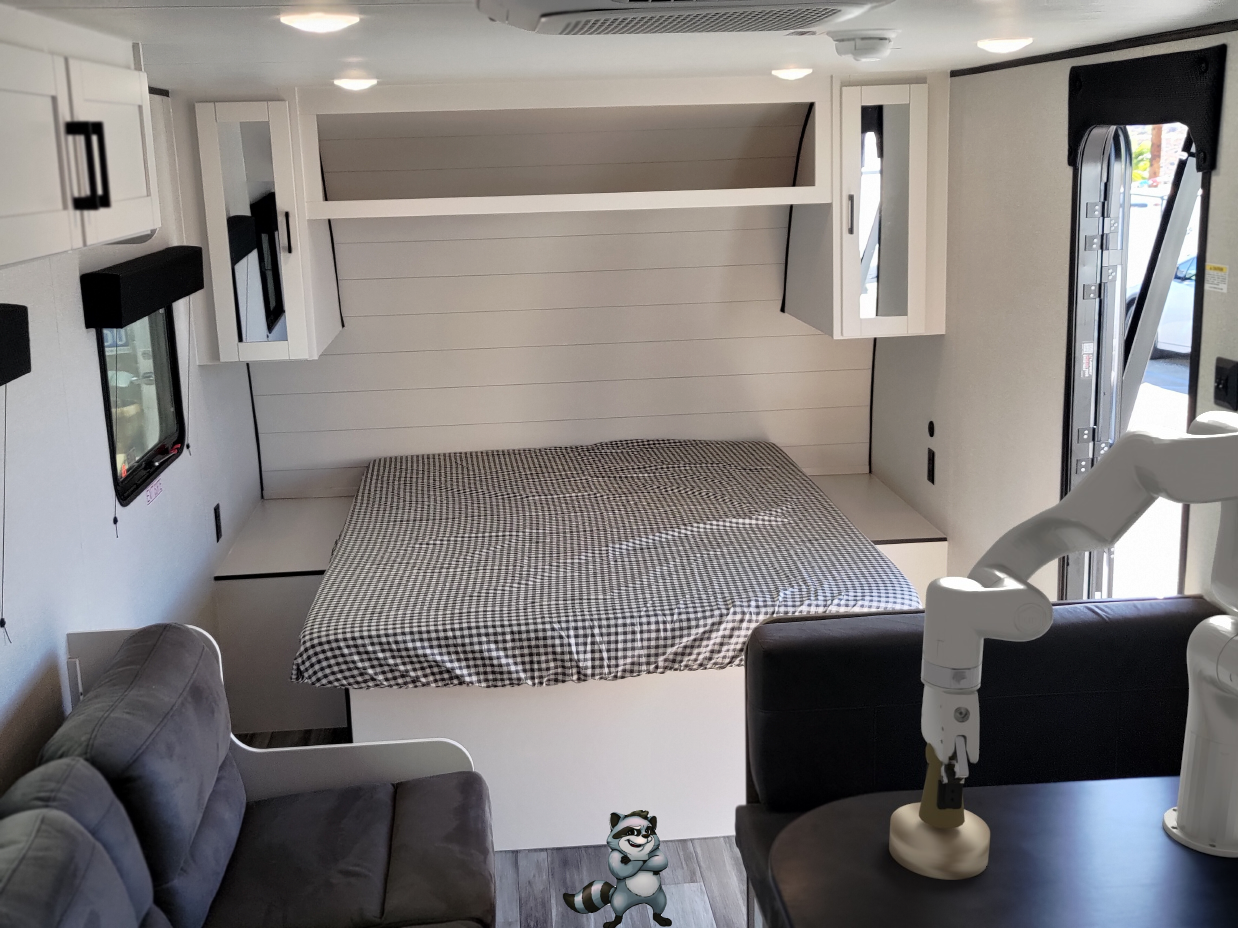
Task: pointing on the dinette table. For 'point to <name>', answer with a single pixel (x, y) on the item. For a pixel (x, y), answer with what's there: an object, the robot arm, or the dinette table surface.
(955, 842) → the disc
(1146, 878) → the dinette table surface
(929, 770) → the olive pawn
